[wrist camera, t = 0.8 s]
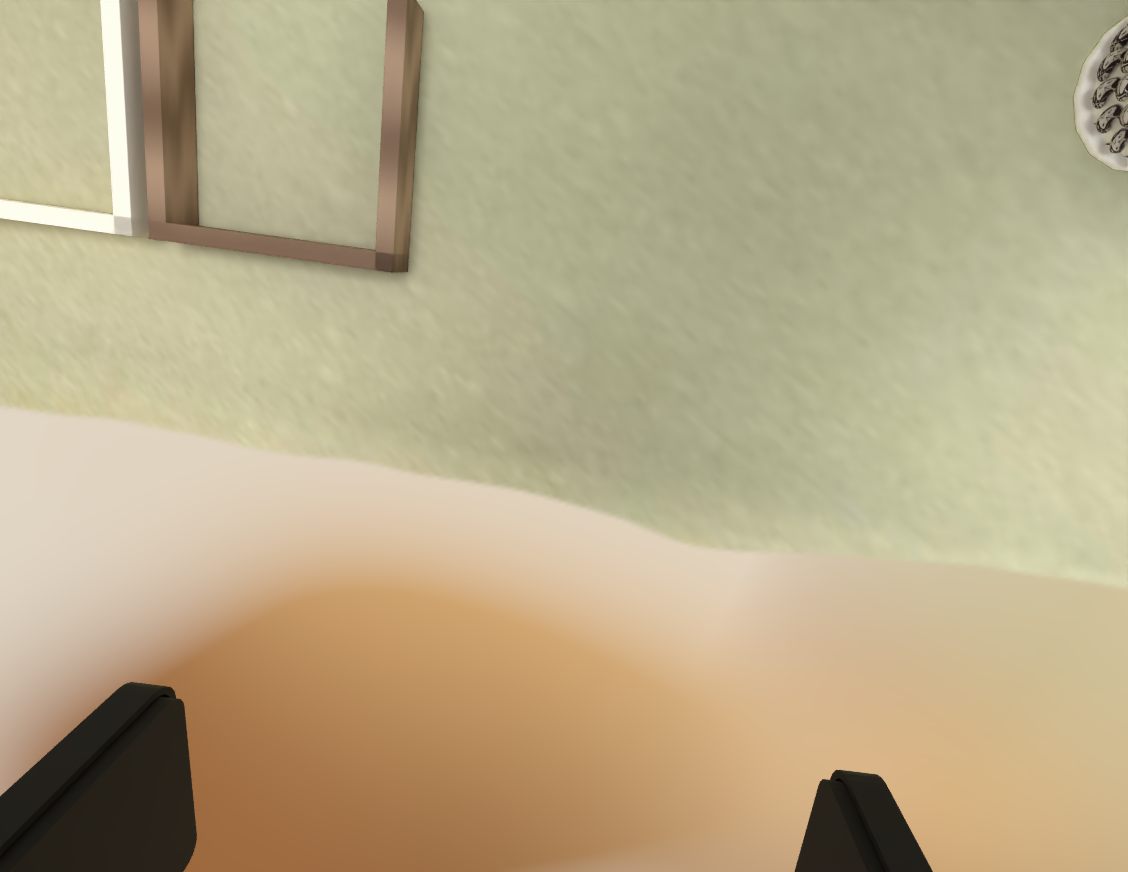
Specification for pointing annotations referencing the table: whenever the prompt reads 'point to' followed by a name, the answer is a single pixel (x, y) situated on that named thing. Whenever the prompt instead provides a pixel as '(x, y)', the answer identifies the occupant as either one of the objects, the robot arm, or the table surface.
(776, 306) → the table surface
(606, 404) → the table surface
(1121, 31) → the decorative candle
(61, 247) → the table surface
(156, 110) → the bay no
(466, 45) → the table surface
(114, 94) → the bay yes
